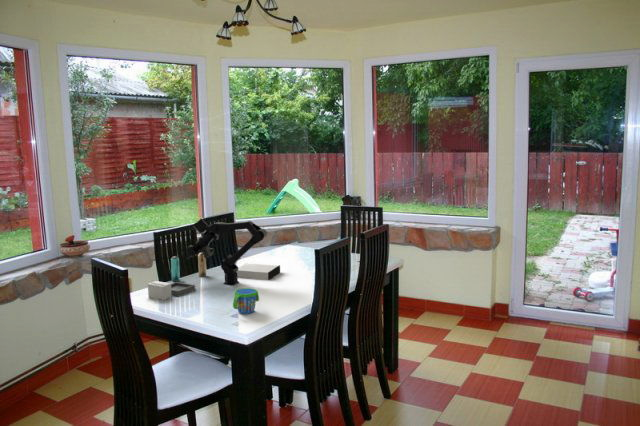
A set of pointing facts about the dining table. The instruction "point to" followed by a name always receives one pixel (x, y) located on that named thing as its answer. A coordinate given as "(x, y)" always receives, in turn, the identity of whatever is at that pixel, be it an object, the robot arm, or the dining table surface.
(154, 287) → the block
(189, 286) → the tray
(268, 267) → the disc drive
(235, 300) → the snack cup
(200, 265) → the cylinder
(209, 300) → the dining table surface
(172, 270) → the cylinder
